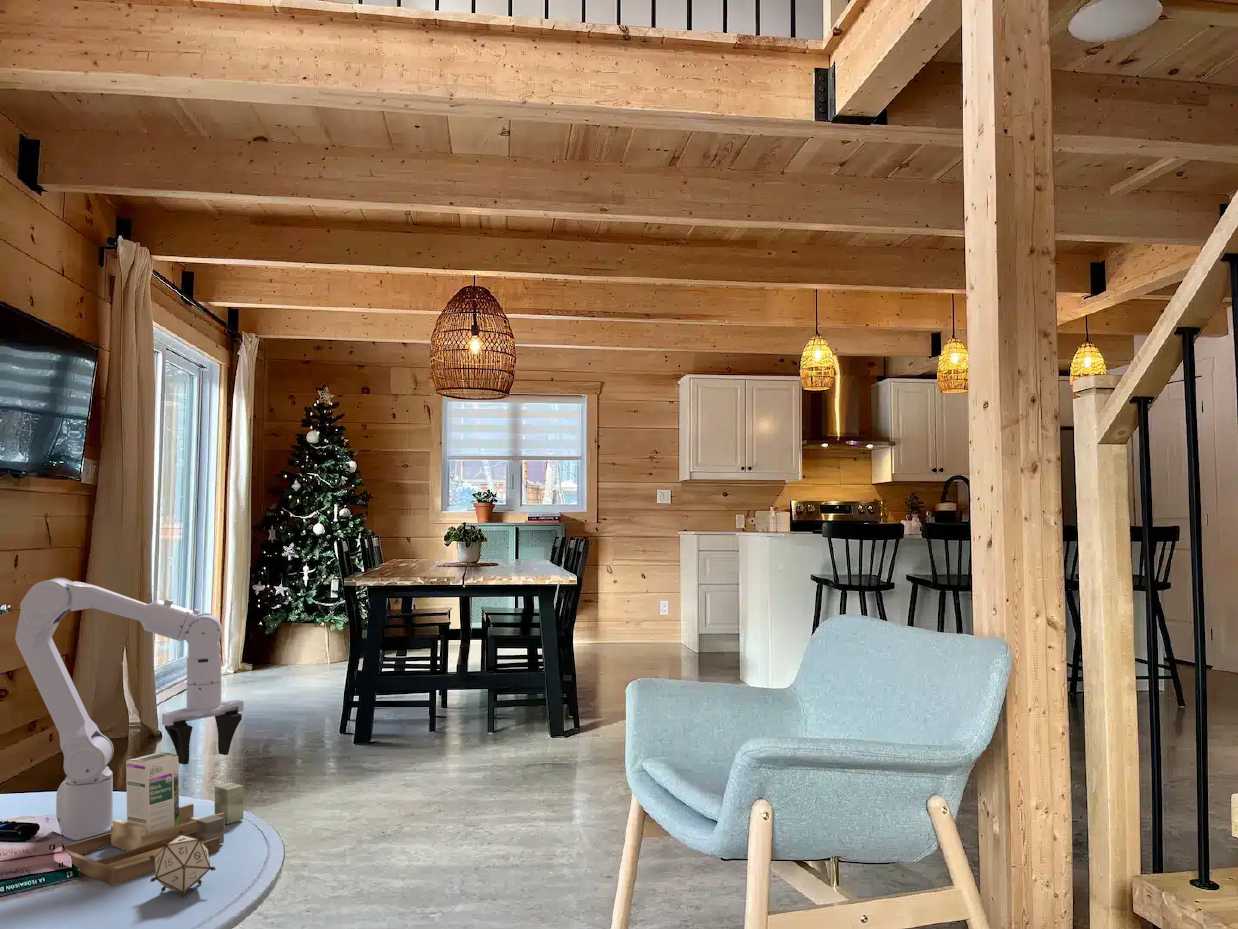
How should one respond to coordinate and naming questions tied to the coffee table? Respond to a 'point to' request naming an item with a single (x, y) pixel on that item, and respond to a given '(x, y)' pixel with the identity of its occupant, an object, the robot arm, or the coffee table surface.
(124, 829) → the wooden slotted tray
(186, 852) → the game die
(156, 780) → the syrup box
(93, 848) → the lane board
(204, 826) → the wooden bar
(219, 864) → the coffee table surface
